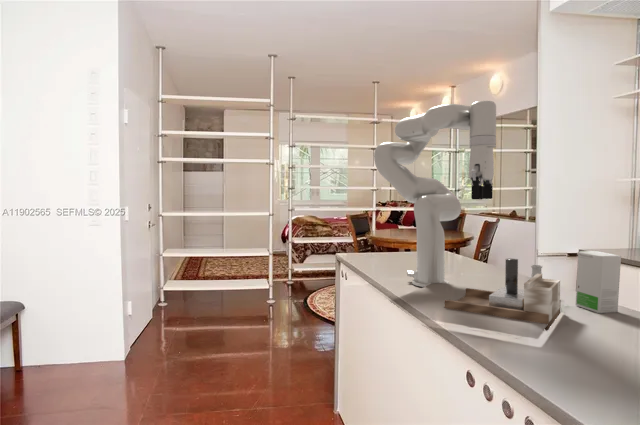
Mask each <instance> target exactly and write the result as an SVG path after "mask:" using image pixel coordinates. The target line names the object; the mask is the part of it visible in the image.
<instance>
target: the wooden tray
mask: <svg viewBox="0 0 640 425" xmlns="http://www.w3.org/2000/svg"><path fill="white" fill-rule="evenodd" d="M523 285H524V286H523V290H524V311H523V310H516V309H509V308H502V307H495V306H489V295H491V294H492V293H494V292H495V291H493V290H484V289H476V288H470V287H469V288H468V287H467V288H465V295H463V296H462V297H460V298H459V299H457V300H453V299H444V309H450V310H457V311H461V312H468V313H475V314H482V315H487V316H488V315H489V316H492V317H493V316H494V317H495V316H496V317H501V318H508V319H514V320H520V321H526V322H532V323H537V324H538V323H539V324H545V325H546V326H545V328H544V329H545V330H544V331H548V330H550V328H551V327H552V325H553V324H554V322H555V321H556V320H555V319H557V318H558V317H559V315H560V314H561V302H562V301H561V280H560V279H551V278H543V273H542V274H536V275H535V276H533V277H532V278H531V277H530V278H529V279H528V280H527V281H526V282H524V283H523ZM550 326H551V327H550Z"/></svg>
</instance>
